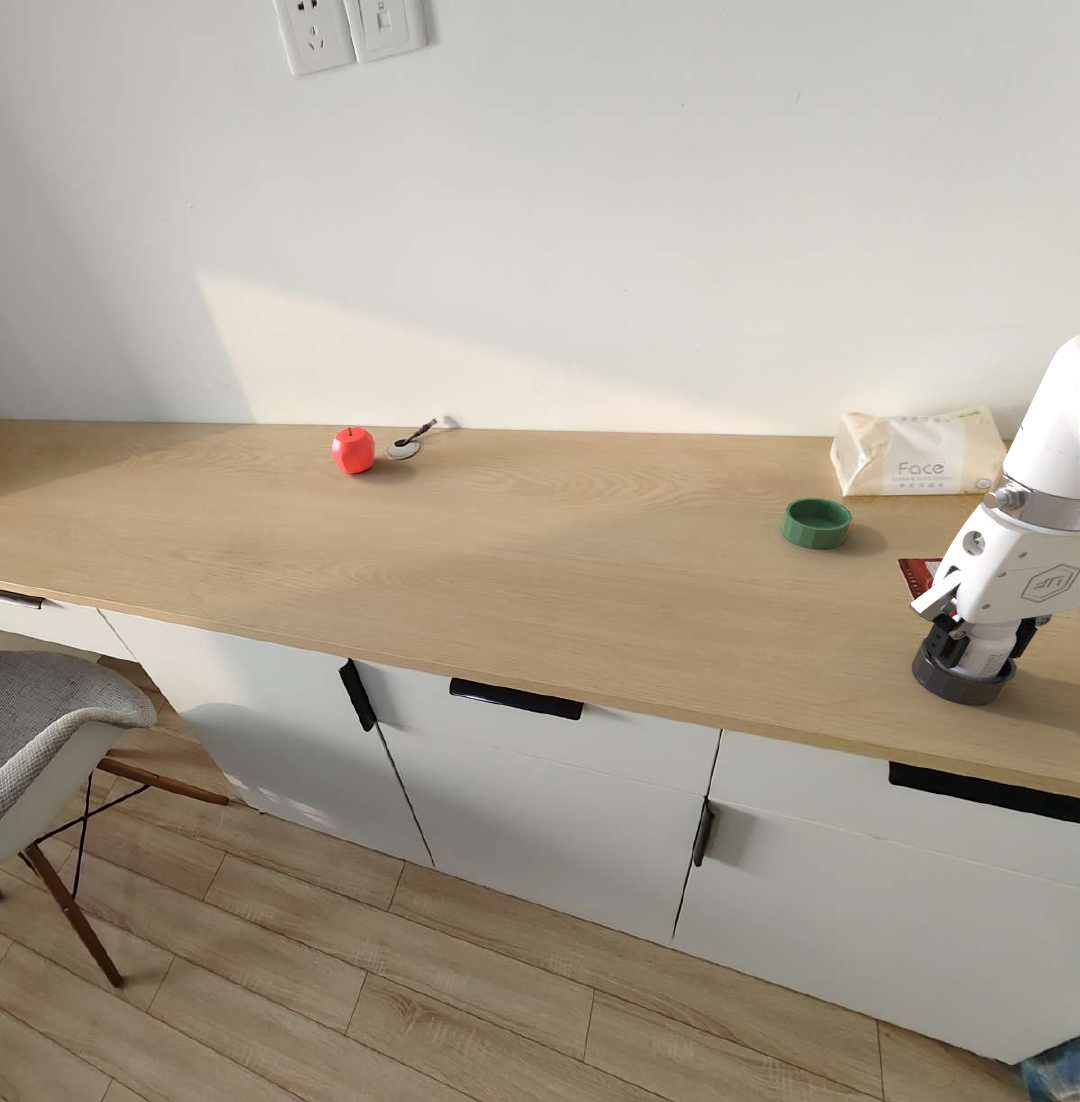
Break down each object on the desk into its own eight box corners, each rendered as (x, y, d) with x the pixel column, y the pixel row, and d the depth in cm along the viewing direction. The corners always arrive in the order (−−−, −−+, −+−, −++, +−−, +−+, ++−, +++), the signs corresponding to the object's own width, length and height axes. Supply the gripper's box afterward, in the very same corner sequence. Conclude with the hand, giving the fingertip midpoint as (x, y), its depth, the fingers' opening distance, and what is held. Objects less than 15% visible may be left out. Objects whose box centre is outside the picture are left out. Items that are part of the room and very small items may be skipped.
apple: (384, 470, 116) (376, 430, 111) (341, 483, 115) (331, 443, 110) (372, 451, 122) (365, 412, 117) (331, 463, 121) (322, 424, 117)
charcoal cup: (1008, 669, 64) (1021, 648, 62) (996, 717, 60) (1010, 696, 58) (919, 642, 68) (929, 621, 66) (904, 685, 64) (914, 665, 63)
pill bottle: (985, 662, 64) (1022, 600, 59) (994, 699, 61) (1034, 636, 56) (923, 652, 66) (953, 590, 61) (928, 687, 63) (961, 625, 58)
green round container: (852, 525, 83) (858, 506, 81) (836, 555, 79) (843, 536, 77) (790, 511, 87) (795, 492, 85) (773, 539, 84) (778, 520, 82)
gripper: (981, 541, 49) (903, 698, 60) (1231, 498, 47) (1104, 667, 58) (908, 488, 55) (849, 639, 65) (1128, 448, 53) (1030, 610, 64)
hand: (970, 651), depth 62 cm, fingers closed on pill bottle, 4 cm apart
